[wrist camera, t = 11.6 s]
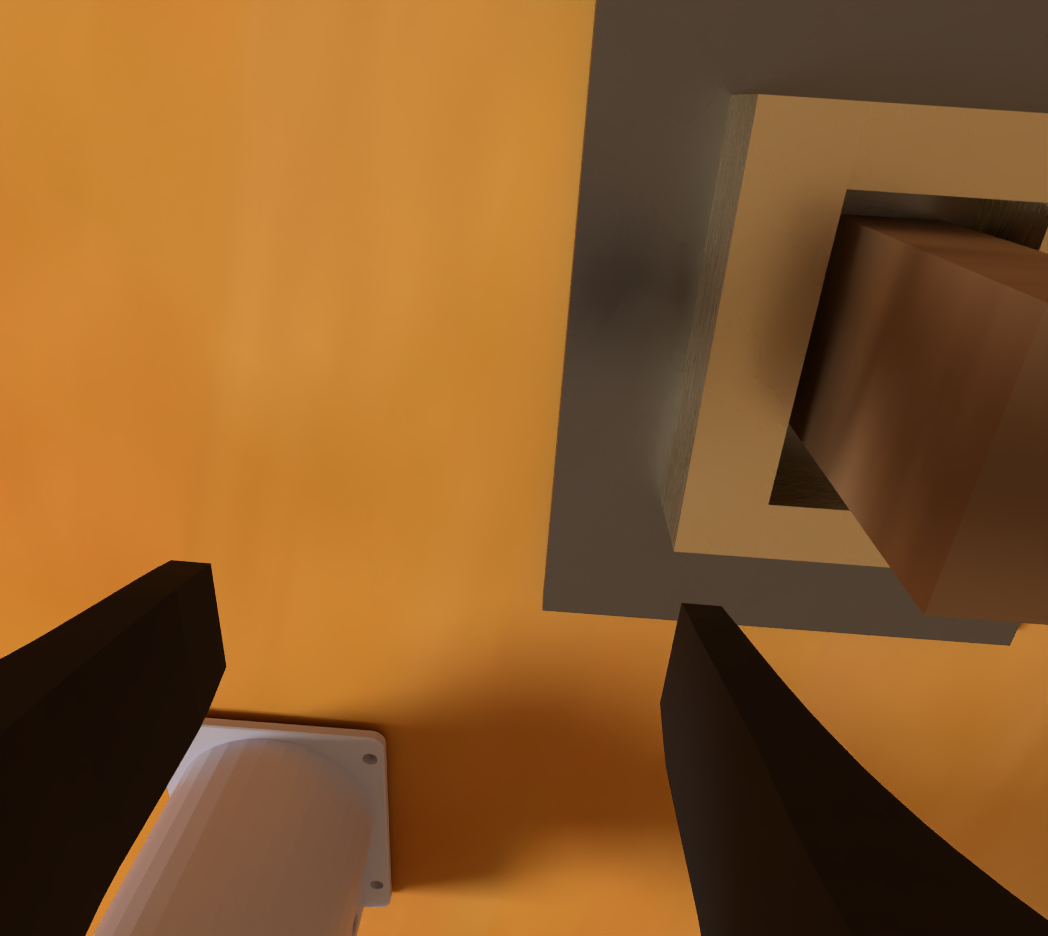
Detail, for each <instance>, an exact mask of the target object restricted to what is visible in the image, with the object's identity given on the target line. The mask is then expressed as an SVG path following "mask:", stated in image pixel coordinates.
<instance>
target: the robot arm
mask: <svg viewBox="0 0 1048 936" xmlns="http://www.w3.org/2000/svg"><path fill="white" fill-rule="evenodd" d="M225 668H226V662H225V655H224V648H223V642H222V635H221V629H220V622H219V615H218V609H217V602H216V596H215V589H214V582H213V576H212V569H211V564H210V563H197V562H185V561H173V560H171V561H169V562H167V563H165V564H163V565H161V566H159V567H157V568H156V569H154V570H152V571H150V572H149V573H147V574H145V575H143V576H142V577H140V578H138V579H137V580H135V581H133V582H132V583H130V584H128V585H127V586H125V587H123V588H122V589H120V590H118V591H117V592H115V593H113V594H112V595H110V596H108V597H107V598H105V599H103V600H102V601H100V602H98V603H97V604H95V605H93V606H92V607H90V608H88V609H87V610H85V611H83V612H82V613H80V614H78V615H77V616H75V617H73V618H72V619H70V620H68V621H67V622H65V623H63V624H61V625H60V626H58V627H56V628H55V629H53V630H51V631H50V632H48V633H46V634H45V635H43V636H41V637H40V638H38V639H36V640H34V641H32V642H31V643H29V644H27V645H25V646H23V647H21V648H20V649H18V650H16V651H14V652H12V653H11V654H9V655H7V656H5V657H3V658H1V659H0V936H85V935H86V933H87V931H88V929H89V927H90V924H91V922H92V920H93V918H94V916H95V914H96V912H97V909H98V907H99V905H100V903H101V901H102V899H103V897H104V895H105V893H106V892H107V890H108V888H109V886H110V884H111V882H112V880H113V878H114V877H115V875H116V873H117V871H118V869H119V867H120V866H121V864H122V862H123V860H124V859H125V857H126V855H127V854H128V852H129V850H130V848H131V847H132V845H133V843H134V842H135V840H136V838H137V837H138V835H139V833H140V831H141V830H142V828H143V826H144V825H145V823H146V821H147V819H148V818H149V816H150V814H151V813H152V811H153V809H154V808H155V806H156V804H157V802H158V801H159V799H160V797H161V796H162V794H163V792H164V791H165V789H166V787H167V789H168V793H169V797H170V798H169V800H168V802H167V804H166V805H165V807H164V809H163V811H162V813H161V814H160V816H159V818H158V820H157V822H156V823H155V825H154V827H153V829H152V830H151V832H150V834H149V836H148V838H147V839H146V841H145V843H144V845H143V847H142V848H141V850H140V852H139V854H138V856H137V857H136V859H135V861H134V863H133V865H132V866H131V868H130V870H129V872H128V874H127V875H126V877H125V879H124V881H123V883H122V884H121V886H120V888H119V890H118V892H117V893H116V895H115V897H114V899H113V900H112V902H111V904H110V906H109V908H108V909H107V911H106V913H105V915H104V917H103V918H102V920H101V922H100V924H99V926H98V927H97V929H96V931H95V933H94V935H93V936H357V932H358V928H359V924H360V920H361V916H362V912H363V908H364V907H377V908H380V907H385V906H387V905H388V904H389V903H390V900H391V895H392V884H391V859H390V833H389V808H388V783H387V758H386V741H385V738H384V737H383V736H382V735H381V734H380V733H378V732H376V731H370V730H357V729H344V728H332V727H319V726H306V725H293V724H280V723H267V722H254V721H241V720H228V719H216V718H205V717H206V714H207V712H208V710H209V708H210V705H211V703H212V701H213V698H214V696H215V693H216V691H217V688H218V686H219V683H220V681H221V678H222V676H223V673H224V671H225ZM660 706H661V718H662V730H663V742H664V752H665V762H666V769H667V774H668V779H669V784H670V789H671V793H672V798H673V803H674V808H675V812H676V817H677V822H678V826H679V831H680V836H681V840H682V845H683V850H684V854H685V859H686V864H687V868H688V873H689V878H690V882H691V887H692V891H693V896H694V901H695V905H696V910H697V915H698V920H699V926H700V932H701V936H1048V920H1047V919H1045V918H1044V917H1043V916H1041V915H1040V914H1039V913H1037V912H1036V911H1035V910H1033V909H1032V908H1031V907H1029V906H1028V905H1026V904H1025V903H1024V902H1022V901H1021V900H1020V899H1018V898H1017V897H1016V896H1014V895H1013V894H1012V893H1010V892H1009V891H1008V890H1006V889H1005V888H1004V887H1002V886H1001V885H1000V884H999V883H997V882H996V881H995V880H994V879H992V878H991V877H990V876H989V875H987V874H986V873H985V872H983V871H982V870H981V869H980V868H978V867H977V866H976V865H975V864H973V863H972V862H971V861H970V860H968V859H967V858H966V857H964V856H963V855H962V854H961V853H959V852H958V851H957V850H956V849H954V848H953V847H952V846H951V845H950V844H948V843H947V842H946V841H945V840H944V839H942V838H941V837H940V836H939V835H938V834H936V833H935V832H934V831H933V830H932V829H930V828H929V827H928V826H927V825H926V824H925V823H923V822H922V821H921V820H920V819H919V818H918V817H917V816H916V815H914V814H913V813H912V812H911V811H910V810H909V809H908V808H907V807H906V806H904V805H903V804H902V803H901V802H900V801H899V800H898V799H897V798H896V797H894V796H893V795H892V794H891V793H890V792H889V791H888V790H887V789H886V788H884V787H883V786H882V785H881V784H880V783H879V782H878V781H877V780H876V779H875V778H874V777H873V776H872V775H871V774H870V773H869V772H868V771H866V770H865V769H864V768H863V767H862V766H861V765H860V764H859V763H858V762H857V761H856V760H855V759H854V758H853V757H852V756H851V755H850V754H849V752H848V751H847V750H846V749H845V748H844V747H843V746H842V745H841V744H840V743H839V742H838V741H837V740H836V739H835V738H834V737H833V736H832V735H831V734H830V733H829V732H828V731H827V730H826V729H825V728H824V727H823V726H822V725H821V723H820V722H819V721H818V720H817V719H816V718H815V717H814V716H813V715H812V714H811V713H810V711H809V710H808V709H807V708H806V707H805V706H804V705H803V704H802V702H801V701H800V700H799V699H798V698H797V697H796V696H795V694H794V693H793V692H792V691H791V690H790V689H789V688H788V686H787V685H786V684H785V683H784V682H783V681H782V679H781V678H780V677H779V676H778V675H777V673H776V672H775V671H774V670H773V669H772V667H771V666H770V665H769V664H768V663H767V661H766V660H765V659H764V658H763V656H762V655H761V654H760V653H759V652H758V650H757V649H756V648H755V647H754V645H753V644H752V643H751V642H750V640H749V639H748V638H747V637H746V635H745V634H744V633H743V632H742V631H741V629H740V628H739V627H738V626H737V624H736V623H735V622H734V621H733V619H732V618H731V617H730V616H729V615H728V613H727V612H726V611H725V610H724V608H723V607H722V606H714V605H702V604H690V603H681V607H680V612H679V617H678V621H677V626H676V631H675V636H674V640H673V645H672V650H671V655H670V659H669V664H668V669H667V673H666V678H665V683H664V688H663V692H662V697H661V702H660ZM369 754H372V755H369Z"/></svg>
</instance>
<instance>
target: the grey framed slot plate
mask: <svg viewBox="0 0 1048 936" xmlns="http://www.w3.org/2000/svg"><path fill="white" fill-rule="evenodd" d="M840 214H851V215H866V216H880V217H895V218H909V219H924V220H939V221H947V222H950V223H953V224H957V225H960V226H963V227H966V228H969V229H972V230H975V231H979V232H982V233H985V234H988V235H991V236H994V237H997V238H1000V239H1004V240H1007V241H1010V242H1013V243H1016V244H1019V245H1022V246H1026V247H1029V248H1032V249H1035V250H1038V251H1041V252H1044V253H1048V0H596V5H595V16H594V27H593V39H592V50H591V61H590V73H589V84H588V95H587V106H586V118H585V129H584V140H583V151H582V163H581V174H580V185H579V197H578V208H577V219H576V230H575V242H574V253H573V264H572V275H571V287H570V298H569V309H568V321H567V332H566V343H565V354H564V366H563V377H562V388H561V399H560V411H559V422H558V433H557V444H556V456H555V467H554V478H553V490H552V501H551V512H550V523H549V535H548V546H547V557H546V568H545V580H544V591H543V609H542V610H544V611H557V612H571V613H584V614H597V615H610V616H624V617H637V618H650V619H663V620H677V621H678V617H679V612H680V607H681V603H690V604H702V605H714V606H722V607H723V608H724V610H725V611H726V612H727V613H728V615H729V616H730V617H731V618H732V619H733V621H734V622H735V623H736V624H737V625H743V626H756V627H769V628H783V629H796V630H809V631H822V632H836V633H849V634H862V635H876V636H889V637H902V638H915V639H929V640H942V641H955V642H968V643H982V644H995V645H1008V646H1010V644H1011V642H1012V640H1013V638H1014V635H1015V633H1016V631H1017V629H1018V627H1019V625H1020V623H1018V622H1005V621H991V620H978V619H965V618H952V617H938V616H925V615H923V613H922V612H921V611H920V609H919V608H918V606H917V605H916V603H915V602H914V601H913V599H912V598H911V596H910V595H909V594H908V592H907V591H906V589H905V588H904V586H903V585H902V584H901V582H900V581H899V579H898V578H897V576H896V575H895V574H894V572H893V571H892V569H891V568H890V567H889V565H888V564H887V562H886V561H885V559H884V558H883V557H882V555H881V554H880V552H879V551H878V549H877V548H876V547H875V545H874V544H873V542H872V541H871V540H870V538H869V537H868V535H867V534H866V532H865V531H864V530H863V528H862V527H861V525H860V524H859V522H858V521H857V520H856V518H855V517H854V515H853V514H852V513H851V511H850V510H849V508H848V507H847V505H846V504H845V503H844V501H843V500H842V498H841V497H840V495H839V494H838V493H837V491H836V490H835V488H834V487H833V486H832V484H831V483H830V481H829V480H828V478H827V477H826V476H825V474H824V473H823V471H822V470H821V469H820V467H819V466H818V464H817V463H816V461H815V460H814V459H813V457H812V456H811V454H810V453H809V451H808V450H807V449H806V447H805V446H804V444H803V443H802V442H801V440H800V439H799V437H798V436H797V434H796V433H795V432H794V430H793V429H792V427H791V426H790V424H789V419H790V415H791V411H792V407H793V403H794V399H795V395H796V391H797V387H798V383H799V379H800V375H801V371H802V367H803V363H804V359H805V355H806V351H807V347H808V343H809V339H810V335H811V331H812V327H813V323H814V319H815V315H816V311H817V307H818V303H819V299H820V295H821V291H822V286H823V282H824V278H825V274H826V270H827V266H828V262H829V258H830V254H831V250H832V246H833V242H834V238H835V234H836V230H837V226H838V222H839V218H840Z"/></svg>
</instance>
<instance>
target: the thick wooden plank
mask: <svg viewBox="0 0 1048 936" xmlns="http://www.w3.org/2000/svg"><path fill="white" fill-rule="evenodd" d="M789 424H790V426H791V427H792V429H793V430H794V432H795V433H796V434H797V436H798V437H799V439H800V440H801V442H802V443H803V444H804V446H805V447H806V449H807V450H808V451H809V453H810V454H811V456H812V457H813V459H814V460H815V461H816V463H817V464H818V466H819V467H820V469H821V470H822V471H823V473H824V474H825V476H826V477H827V478H828V480H829V481H830V483H831V484H832V486H833V487H834V488H835V490H836V491H837V493H838V494H839V495H840V497H841V498H842V500H843V501H844V503H845V504H846V505H847V507H848V508H849V510H850V511H851V513H852V514H853V515H854V517H855V518H856V520H857V521H858V522H859V524H860V525H861V527H862V528H863V530H864V531H865V532H866V534H867V535H868V537H869V538H870V540H871V541H872V542H873V544H874V545H875V547H876V548H877V549H878V551H879V552H880V554H881V555H882V557H883V558H884V559H885V561H886V562H887V564H888V565H889V567H890V568H891V569H892V571H893V572H894V574H895V575H896V576H897V578H898V579H899V581H900V582H901V584H902V585H903V586H904V588H905V589H906V591H907V592H908V594H909V595H910V596H911V598H912V599H913V601H914V602H915V603H916V605H917V606H918V608H919V609H920V611H921V612H922V613H923V615H925V616H938V617H952V618H965V619H978V620H991V621H1005V622H1018V623H1031V624H1045V625H1048V253H1044V252H1041V251H1038V250H1035V249H1032V248H1029V247H1026V246H1022V245H1019V244H1016V243H1013V242H1010V241H1007V240H1004V239H1000V238H997V237H994V236H991V235H988V234H985V233H982V232H979V231H975V230H972V229H969V228H966V227H963V226H960V225H957V224H953V223H950V222H947V221H939V220H924V219H909V218H895V217H880V216H866V215H851V214H840V218H839V222H838V226H837V230H836V234H835V238H834V242H833V246H832V250H831V254H830V258H829V262H828V266H827V270H826V274H825V278H824V282H823V286H822V291H821V295H820V299H819V303H818V307H817V311H816V315H815V319H814V323H813V327H812V331H811V335H810V339H809V343H808V347H807V351H806V355H805V359H804V363H803V367H802V371H801V375H800V379H799V383H798V387H797V391H796V395H795V399H794V403H793V407H792V411H791V415H790V419H789Z"/></svg>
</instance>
